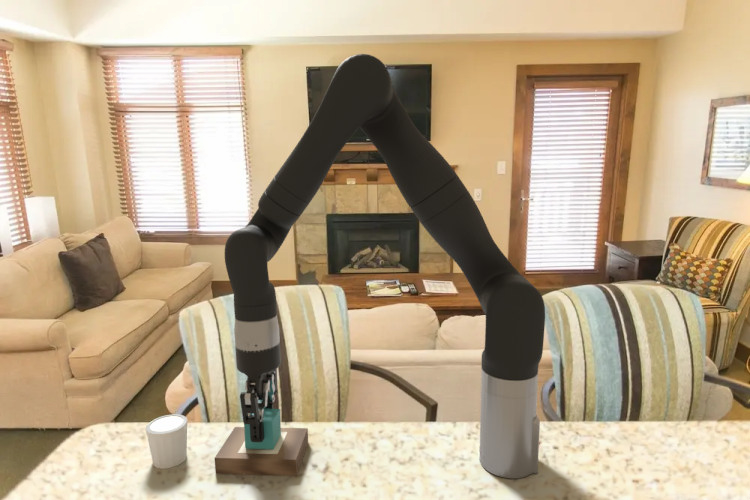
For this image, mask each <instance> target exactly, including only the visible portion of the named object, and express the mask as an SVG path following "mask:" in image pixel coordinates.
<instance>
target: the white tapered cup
mask: <svg viewBox="0 0 750 500" xmlns="http://www.w3.org/2000/svg"><path fill="white" fill-rule="evenodd" d="M145 431H146V436H147V437H146V438H147V442H148V446H149V452H150V455H151V460H152V461H151V462H152V465H153V466H154V467H155V468H158V469H170V468H174V467H176V466H179V465H181V464H182V463H184V462H185V460H186V459H187V456H188V455H187V454H188V453H187V452H188V451H187V450H188V449H187V448H188V418H187V417H186V416H185V415H183V414H180V413H177V414H176V413H175V414H166V415H161V416H159V417H157V418H154V419H153V420H152V421H150V422H149V423H148V424H146V426H145Z"/></svg>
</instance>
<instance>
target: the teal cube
mask: <svg viewBox="0 0 750 500" xmlns="http://www.w3.org/2000/svg"><path fill="white" fill-rule="evenodd" d="M252 415H254V414H253V413H252ZM263 417H264V419H263V424H264V440H263V441H262V442H252V441H251V439H250V424H244V423H243V425H244V426H243V427H244V432H245V449H274V447H275V445H276V443H277V441H278V439H279V437H280V435H281V428H282V427H281V409H280V408H273V409H264V416H263Z"/></svg>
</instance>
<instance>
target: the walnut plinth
mask: <svg viewBox="0 0 750 500" xmlns="http://www.w3.org/2000/svg"><path fill="white" fill-rule="evenodd" d="M308 445H309V429H308V427H307V428H306V427H281V435H280V437H279V439H278V441H277V443H276V445H275V447H274V449H245V432H244V426H235V427H234V428H233V429H232V431H231V432H230V434H229V435H228V437H227V439H226V440H225V441H224V443H223V445H222V446H221V447H220V448H219V450H218V452H217V453H216V455H215V456H214V470H215V475H238V476H239V475H240V476H243V475H244V476H245V475H246V476H247V475H248V476H279V477H280V476H282V477H283V476H284V477H285V476H288V477H296V476H298V473H299V470H300V467H301V464H302V462H303V459H304V456H305V453H306V450H307V448H308Z"/></svg>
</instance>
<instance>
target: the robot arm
mask: <svg viewBox="0 0 750 500" xmlns="http://www.w3.org/2000/svg"><path fill="white" fill-rule="evenodd" d="M359 129H360V130H361V131H362V132H363V133H364V135H365V136H366V138H367V139H368V140H369V141H370V142H371V143H372V144H373V146H374V147H375V148H376V150H377V151H378V153H379V154H380V156H381V158H382V159H383V161H384V163H385V165H386V167H387V169H388V172H389V173H390V175H391V177H392V178H393V181H394V183H395V185H396V187H397V188H398V190H399V192H400V193H401V195H402V197H403V199H404V201H405V202H406V203H407V205H408V207H409V208H410V209H411V211H412V213H413V214H414V215H415V216H416V218H417V220H418V221H419V222H420V223H421V225H422V226H423V228H424V229H425V230H426V232H427V233H428V234H429V235H430V237H431V238H432V239H433V240H434V241H435V243H437V245H438V246H440V248H441V249H442V250H443V251H444V252H445V253H446V254H447V255H448V256H449V257H450V258H451V259H452V260H453V261H454V262H455V263H456V264H457V266H458V267H459V269H460V270H461V271H462V273H463V275H464V276H465V277H464V278H466V280H467V282H468V284H469V285H470V287H471V288H472V290H473V292H474V295H475V296H476V298H477V300H478V302H479V304H480V306H481V309H482V311H483V313H484V315H485V330H484V331H485V333H484V335H485V336H484V348H483V351H482V352H481V366H480V367H481V371H480V372H481V373H480V376H481V377H480V415H479V416H480V419H479V421H480V422H479V423H480V428H479V463H480V465H481V466H482V467H483V469H484V470H486V471H487V472H489V473H491V474H492V475H495V476H497V477H500V478H504V479H505V478H506V479H521V478H524V477H527V476H529V475H532V474H538V473H539V453H540V451H539V450H540V449H539V447H540V430H541V427H540V426H541V423H540V422H541V421H540V418H539V417H538V415H537V409H538V408H537V407H538V406H537V405H538V404H537V403H538V383H539V382H538V381H539V365H540V362H541V361H542V356H543V353H544V352H543V351H544V341H545V340H544V339H545V338H544V337H545V323H546V306H545V301H544V297H543V295H542V294H541V292H540V291H539V290H538V288H536V287H535V285H533V284H532V283H531V282H530V281H529V279H527V278H525V277H524V276H523V275H522V274H521V273H520V272H519V271H518V270H517V268H516V267H515V266H514V265H513V263H511V262H510V260H509V259H508V258H507V257H506V255H505V254H504V253H503V252H502V251H501V249H500V248H499V246H498V245H497V243H496V242H495V241H494V239H493V237H492V234H491V233H490V231H489V227H488V226H487V223H486V222H485V219H484V217H483V215H482V212H481V211H480V209H479V207H478V206H477V203H476V201H475V200H474V198H473V197H472V194H471V193H470V191H469V190H468V188H467V187H466V186H465V184H464V183H463V181H462V180H461V178H460V177H459V176H458V174H457V173H456V171H455V170H454V169H453V167H452V166H451V165H450V163H449V162H448V161H447V160H446V159H445V158H444V156H443V155H442V154H441V153H440V152H439V150H437V149H436V147H435V146H433V144H432V143H431V142H430V141H429V140H428V139H427V138H426V137H425V136H424V134H422V133H421V132H420V131H419V129H418V128H417V127H416V125H415V124H414V122H413V121H412V119H411V118H410V116H409V114H408V113H407V110H406V109H405V107H404V105H403V103H401V100H400V98H399V97H398V95H397V92H396V91H395V88H394V86H393V82H392V77H391V75H390V72H389V70H388V68H387V66H386V65H385V64H384V63H383V62H382V60H380V59H379V58H377V57H376V56H374V55H371V54H367V53H358V54H354V55H351V56H349V57H347V58H346V59H344V60H343V61H342V62H341V63H340V64H339V65H338V67H337V68H336V70H335V72H334V74H333V77H332V78H331V81H330V83H329V85H328V87H327V90H326V91H325V93H324V96H323V98H322V100H321V102H320V105H319V106H318V108H317V110H316V112H315V114H314V116H313V117H312V120H311V121H310V123H309V125H308V126H307V128H306V130H305V131H304V133H303V134H302V137H301V138H300V140H299V141H298V143H297V144H296V145H295V146H294V149H293V150H292V151H291V153H290V154H289V156H288V157H287V158H286V160H285V161H284V163H283V164H282V165H281V167H280V168H279V170H278V171H277V173H276V174H275V175H274V177H273V178H272V179H271V181H270V182H269V184H268V185H267V187H266V189H265V190H264V191H263V193H262V194H261V196H260V197H259V200H258V202H257V203H258V204H257V207H258V208H257V210H256V211H255V213H254V214H253V216H252V217H251V219H250V221H249V222H248V223H247V224H246V225H245V227H242V228H239V229H237V230H235V231H233V232H232V233H231V234H230V235H229V236H228V238H227V239H226V242H225V246H224V263H225V269H226V272H227V276H228V279H229V283H230V284H229V285H230V286H231V289H232V293H233V308H234V309H233V310H234V328H233V330H234V331H233V334H234V346H235V347H234V348H235V363H236V365H235V366H236V369H237V371H238V372H240V373H241V374H244V375H245V376H246V377H247V378H246V380H245V386H244V387H245V389H244V390H245V391H244V392H240V395H239V400H240V406H241V413H242V414H241V415H242V420H243V425H244V424H250V439H251V441H252V442H262V441H263V440H264V424H263V419H264V417H263V416H264V409H274V402H275V400H276V397H275V395H276V396H277V394H278V372H277V371H278V368H279V367H280V365H281V363H282V358H281V343H280V342H281V341H280V340H281V339H280V326H279V321H278V312H277V311H278V309H277V308H278V307H277V294H276V288H275V286H274V284H273V283H272V282H270V277H269V270H268V262H270V261H271V260H272V259H273V258H274V257H275V255H276V254H277V253H278V251H279V250H280V248H281V246H282V245H283V243H284V241H286V239H287V236H288V234H289V233H290V231H291V229H292V227H293V225H295V223H296V222H297V221H298V219H299V218H300V217H301V216H302V215H303V213H304V211H305V210H306V209H307V208H308V206H309V204H310V203H311V202H312V200H313V199H314V197H315V196H316V195H317V193H318V192H319V189H320V188H321V186H322V184H323V183H324V180H325V179H326V177H327V175H328V174H329V172H330V170H331V168H332V166H333V164H334V163H335V161H336V159H337V158H338V156H339V155H340V153H341V151H342V150H343V148H344V147H345V145H347V143H348V142H349V140H350V139H351V138H352V137H353V135H354V134H356V132H357V131H358V130H359ZM252 413H253V414H254V415H252Z"/></svg>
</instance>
